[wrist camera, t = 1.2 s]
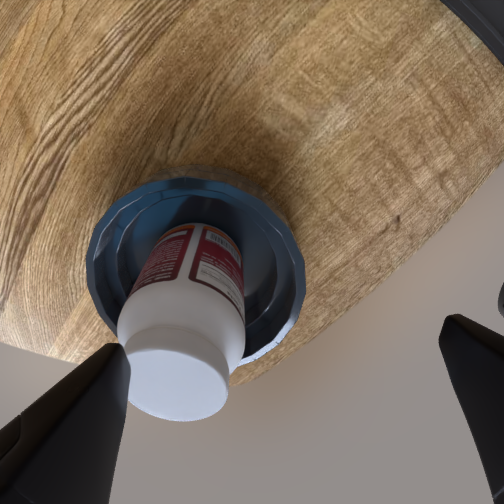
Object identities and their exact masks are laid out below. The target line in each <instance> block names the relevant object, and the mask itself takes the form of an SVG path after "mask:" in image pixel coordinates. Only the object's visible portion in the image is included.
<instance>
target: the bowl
mask: <svg viewBox="0 0 504 504" xmlns="http://www.w3.org/2000/svg"><path fill="white" fill-rule="evenodd" d="M187 223H203V224H207V225H211V226H213V227H216V228H218V229H220V230H222V231H223V232H224V233H226V234H227V235H228V236H229V237H230V238H231V239H232V240H233V241H234V243H235V244H236V246H237V247H238V249H239V251H240V254H241V257H242V262H243V276H244V312H245V349H244V353H243V356H242V359H241V361H240V363H239V364H238V366H241V365H244V364H246V363H249V362H252V361H255V360H257V359H258V358H260V357H261V356H263V355H264V354H266V353H267V352H268V351H270V350H271V349H273V348H274V347H276V346H277V345H278V344H279V343H280V342H281V341H282V340H283V339H284V337H285V336H286V335H287V333H288V332H289V331H290V329H291V328H292V327H293V326H294V324H295V323H296V321H297V320H298V317H299V314H300V310H301V307H302V304H303V301H304V298H305V295H306V278H305V262H304V258H303V256H302V253H301V250H300V248H299V245H298V243H297V240H296V237H295V235H294V233H293V230H292V228H291V226H290V224H289V222H288V219H287V217H286V215H285V213H284V211H283V209H282V208H281V206H280V205H279V204H278V203H277V202H276V201H275V200H274V199H273V198H272V197H271V196H270V195H269V194H268V193H267V192H266V191H265V190H264V189H263V188H262V187H261V186H260V185H259V184H257V183H255V182H253V181H251V180H249V179H247V178H245V177H243V176H242V175H240V174H238V173H236V172H234V171H232V170H229V169H226V168H219V167H213V166H206V165H200V164H195V165H194V164H191V165H185V166H179V167H174V168H168V169H163V170H162V171H161V170H160V171H158V172H157V173H155V174H153V175H151V176H150V177H148V178H146V179H144V180H143V181H141V182H139V183H138V184H136V185H134V186H133V187H132V188H131V189H129V190H128V191H127V192H126V193H124V194H123V195H122V196H121V197H119V198H118V199H117V200H116V201H115V202H114V203H113V204H112V205H111V206H110V208H109V209H108V210H107V211H106V213H105V214H104V215H103V217H102V218H101V219H100V220H99V222H98V223H97V224H96V226H95V228H94V230H93V233H92V237H91V240H90V243H89V247H88V250H87V254H86V274H87V286H88V289H89V292H90V295H91V297H92V299H93V302H94V304H95V307H96V309H97V312H98V314H99V316H100V317H101V318H102V319H103V321H104V322H105V323H106V324H107V326H108V327H109V328H110V329H111V331H112V332H113V333H114V334H115V336H116V337H118V336H117V324H118V319H119V316H120V313H121V311H122V308H123V306H124V304H125V302H126V300H127V298H128V296H129V294H130V292H131V290H132V288H133V286H134V284H135V282H136V280H137V278H138V276H139V275H140V273H141V271H142V269H143V267H144V265H145V263H146V261H147V259H148V257H149V255H150V254H151V252H152V250H153V248H154V246H155V244H156V243H157V241H158V240H159V239H160V238H161V237H162V236H163V235H164V234H165V233H166V232H167V231H169V230H170V229H172V228H174V227H176V226H179V225H182V224H187ZM238 366H237V367H238Z"/></svg>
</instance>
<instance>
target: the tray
mask: <svg viewBox="0 0 504 504" xmlns="http://www.w3.org/2000/svg"><path fill="white" fill-rule="evenodd" d="M440 1H441V2H442V3H444V4H445V5H446V6H447V7H448V8H449V9H450V10H451V11H452V12H454V13H455V14H456V15H457V16H458V17H459V18H460V19H461V20H462V21H463V22H464V23H465V24H466V25H467V26H468V27H469V28H470V29H471V30H472V31H473V32H474V33H475V34H476V35H477V36H478V37H479V38H480V39H481V40H482V41H483V43H484V44H485V45H486V46H487V47H488V48H489V49H490V50H491V51H492V53H493V54H494V55H495V56H496V57H497V58H498V60H499V61H500V62H501V63H502V64H503V66H504V0H440Z"/></svg>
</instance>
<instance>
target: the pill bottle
mask: <svg viewBox="0 0 504 504" xmlns="http://www.w3.org/2000/svg"><path fill="white" fill-rule="evenodd" d="M117 336H118V341H119V343H120V344H121V345H122V346H123V348H124V350H125V353H126V355H127V358H128V361H129V363H130V366H131V377H130V385H129V393H128V400H129V401H130V402H131V403H132V404H134V405H135V406H136V407H137V408H139V409H140V410H142V411H144V412H146V413H148V414H150V415H153V416H156V417H159V418H162V419H167V420H172V421H194V420H200V419H203V418H206V417H209V416H211V415H213V414H215V413H216V412H217V411H219V410H220V409H221V408H222V406H223V405H224V404H225V402H226V400H227V396H228V389H229V375H230V374H231V373H232V372H233V371H234V370H235V369H236V367H237V366H238V364H239V363H240V361H241V359H242V356H243V353H244V349H245V312H244V276H243V262H242V257H241V254H240V251H239V249H238V247H237V246H236V244H235V243H234V241H233V240H232V239H231V238H230V237H229V236H228V235H227V234H226V233H224V232H223V231H222V230H220V229H218V228H216V227H213V226H211V225H207V224H203V223H187V224H182V225H179V226H176V227H174V228H172V229H170V230H169V231H167V232H166V233H165V234H164V235H163V236H162V237H161V238H160V239H159V240H158V241H157V243H156V244H155V246H154V248H153V250H152V252H151V254H150V255H149V257H148V259H147V261H146V263H145V265H144V267H143V269H142V271H141V273H140V275H139V276H138V278H137V280H136V282H135V284H134V286H133V288H132V290H131V292H130V294H129V296H128V298H127V300H126V302H125V304H124V306H123V308H122V311H121V313H120V316H119V319H118V324H117Z"/></svg>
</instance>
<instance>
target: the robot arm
mask: <svg viewBox="0 0 504 504" xmlns="http://www.w3.org/2000/svg"><path fill="white" fill-rule="evenodd" d="M502 307H503V309H504V304H503V306H502ZM439 347H440V350H441V352H442V355H443V358H444V361H445V364H446V367H447V370H448V373H449V376H450V379H451V382H452V385H453V388H454V390H455V393H456V395H457V398H458V400H459V403H460V405H461V407H462V410H463V412H464V415H465V417H466V420H467V423H468V425H469V428H470V430H471V433H472V436H473V438H474V441H475V444H476V446H477V450H478V452H479V455H480V458H481V461H482V464H483V467H484V471H485V474H486V477H487V480H488V483H489V486H490V490H491V494H492V497H493V498H494V499H493V501H494V504H504V336H502V335H500V334H498V333H496V332H494V331H492V330H490V329H488V328H486V327H484V326H482V325H480V324H478V323H477V322H475V321H472V320H471V319H469V318H466V317H464V316H463V315H461V314H454V315H449V316H447V317H446V318H445V320H444V324H443V327H442V330H441V333H440V336H439ZM130 377H131V366H130V363H129V361H128V358H127V355H126V353H125V350H124V348H123V346H122V345H121V344H120V343H107V344H105V345H104V346H103V347H101V348H100V349H99V350H98V351H96V352H95V353H94V354H93V355H91V356H90V357H89V358H88V359H86V360H85V361H84V362H83V363H81V364H80V365H79V366H78V367H76V368H75V369H74V370H73V371H72V372H70V373H69V374H68V375H67V376H65V377H64V378H63V379H62V380H60V381H59V382H58V383H57V384H56V385H54V386H53V387H52V388H51V389H49V390H48V391H47V392H46V393H45V394H43V395H42V396H41V397H40V398H38V399H37V400H36V401H35V402H34V403H33V404H31V405H30V406H29V407H28V408H26V409H25V410H24V411H23V412H22V413H21V415H18V416H17V417H15V418H14V419H13V420H12V421H11V422H9V423H8V424H7V425H6V426H4V427H3V428H2V429H1V430H0V504H109V498H110V492H111V487H112V481H113V476H114V471H115V466H116V461H117V455H118V451H119V446H120V442H121V437H122V433H123V428H124V423H125V418H126V409H127V401H128V393H129V385H130Z"/></svg>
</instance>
